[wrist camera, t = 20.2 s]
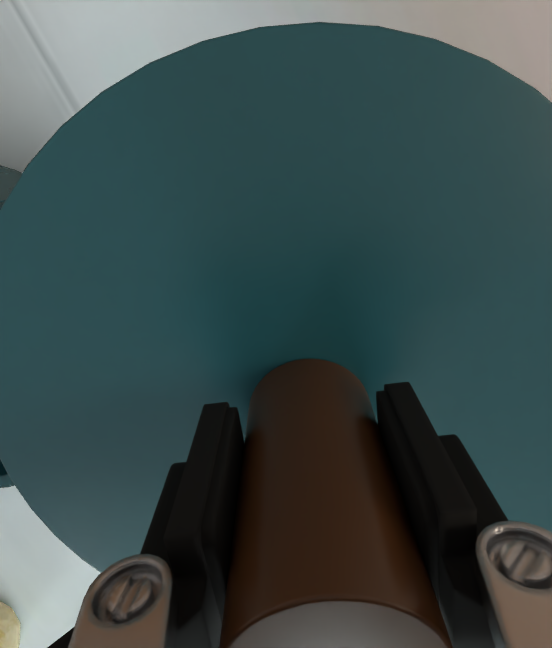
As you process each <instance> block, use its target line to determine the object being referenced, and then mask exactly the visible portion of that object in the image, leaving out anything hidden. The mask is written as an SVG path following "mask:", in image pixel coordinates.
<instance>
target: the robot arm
mask: <svg viewBox="0 0 552 648" xmlns="http://www.w3.org/2000/svg"><path fill="white" fill-rule="evenodd" d="M376 404H377V420H378V427H379V430H380V433H381V436H382V439H383V442H384V445H385V448H386V451H387V454H388V456H389V459H390V462H391V465H392V468H393V471H394V474H395V477H396V480H397V483H398V486H399V489H400V492H401V495H402V498H403V501H404V504H405V507H406V510H407V513H408V516H409V519H410V522H411V525H412V528H413V531H414V534H415V537H416V540H417V543H418V546H419V549H420V552H421V555H422V558H423V561H424V564H425V566H426V569H427V572H428V575H429V578H430V581H431V584H432V587H433V590H434V593H435V596H436V599H437V601H438V604H439V607H440V610H441V613H442V616H443V619H444V622H445V625H446V628H447V631H448V634H449V637H450V640H451V643H452V646H453V648H552V532H550V531H548V530H546V529H544V528H542V527H540V526H537V525H534V524H530V523H527V522H521V521H512V520H508V519H507V517H506V515H505V514H504V512H503V510H502V509H501V507H500V505H499V504H498V502H497V500H496V499H495V497H494V495H493V494H492V492H491V490H490V489H489V487H488V485H487V484H486V482H485V480H484V479H483V477H482V475H481V474H480V472H479V470H478V469H477V467H476V465H475V464H474V462H473V460H472V459H471V457H470V455H469V454H468V452H467V450H466V449H465V447H464V445H463V444H462V442H461V440H460V439H459V438H458V436H457V435H455V434H451V435H441V436H438V435H437V433H436V431H435V429H434V427H433V425H432V424H431V422H430V420H429V418H428V416H427V414H426V412H425V410H424V408H423V407H422V405H421V403H420V401H419V399H418V397H417V395H416V393H415V392H414V390H413V388H412V386H411V384H410V383H409V382H400V383H391V384H385V385H384V391H377V392H376ZM243 451H244V438H243V433H242V427H241V422H240V417H239V412H238V408H237V407H230V406H229V403H228V402H220V403H211V404H204V406H203V408H202V412H201V415H200V418H199V422H198V425H197V428H196V432H195V435H194V438H193V442H192V445H191V448H190V451H189V455H188V458H187V461H186V462H180V463H174V464H172V465H171V467H170V469H169V472H168V475H167V478H166V481H165V483H164V486H163V489H162V492H161V495H160V498H159V501H158V504H157V506H156V509H155V512H154V515H153V518H152V521H151V524H150V527H149V529H148V532H147V535H146V538H145V541H144V544H143V547H142V550H141V552H140V554H136V555H133V556H129V557H126V558H123V559H121V560H119V561H117V562H116V563H114V564H112V565H110V566H109V567H108V568H107V569H105V570H104V571H103V572H102V573H101V574H99V575H98V577H97V578H96V579H95V580H94V582H93V583H92V584H91V585H90V586H89V589H88V591H87V593H86V595H85V597H84V599H83V602H82V605H81V609H80V612H79V615H78V618H77V621H76V624H75V627H74V628H72V629H71V630H70V631H69V632H67V633H66V634H65V635H63V636H62V637H61V638H59V639H58V640H57V641H55V642H54V643H53V644H52V645H50V646H49V647H48V648H219V644H220V635H221V627H222V619H223V611H224V603H225V595H226V587H227V579H228V571H229V563H230V555H231V547H232V539H233V531H234V523H235V515H236V507H237V499H238V491H239V483H240V475H241V467H242V459H243Z"/></svg>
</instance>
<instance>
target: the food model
mask: <svg viewBox="0 0 552 648" xmlns="http://www.w3.org/2000/svg"><path fill="white" fill-rule="evenodd" d="M19 642H20V621H19V620H18V618H17V616H16V614H15V613H14V611H13V609H12V608H11V607H9V606H8V605H6V604H4V603H3V602H1V601H0V648H18V647H19Z"/></svg>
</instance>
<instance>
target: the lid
mask: <svg viewBox="0 0 552 648" xmlns="http://www.w3.org/2000/svg"><path fill="white" fill-rule="evenodd" d="M400 382H409V383H410V384H411V386H412V388H413V390H414V392H415V393H416V395H417V397H418V399H419V401H420V403H421V405H422V407H423V408H424V410H425V412H426V414H427V416H428V418H429V420H430V422H431V424H432V425H433V427H434V429H435V431H436V433H437V435H438V436H441V435H451V434H455V435H457V436H458V438H459V439H460V440H461V442H462V444H463V445H464V447H465V449H466V450H467V452H468V454H469V455H470V457H471V459H472V460H473V462H474V464H475V465H476V467H477V469H478V470H479V472H480V474H481V475H482V477H483V479H484V480H485V482H486V484H487V485H488V487H489V489H490V490H491V492H492V494H493V495H494V497H495V499H496V500H497V502H498V504H499V505H500V507H501V509H502V510H503V512H504V514H505V515H506V517H507V519H508V520H512V521H521V522H527V523H530V524H534V525H537V526H540V527H542V528H544V529H546V530H548V531H550V532H552V102H550V101H549V100H548V99H547V98H546V97H545V96H543V95H542V94H541V93H540V92H539V91H538V90H536V89H535V88H534V87H532V86H530V85H529V84H527V83H525V82H524V81H522V80H520V79H519V78H517V77H515V76H514V75H512V74H510V73H509V72H507V71H505V70H504V69H502V68H500V67H499V66H497V65H495V64H494V63H492V62H490V61H489V60H487V59H484V58H482V57H479V56H477V55H474V54H472V53H469V52H467V51H464V50H462V49H459V48H457V47H454V46H452V45H449V44H447V43H444V42H442V41H439V40H437V39H433V38H429V37H424V36H420V35H416V34H411V33H407V32H402V31H398V30H394V29H389V28H385V27H380V26H371V25H356V24H341V23H327V22H313V23H301V24H290V25H278V26H266V27H258V28H254V29H250V30H246V31H242V32H237V33H233V34H229V35H225V36H221V37H217V38H213V39H209V40H205V41H201V42H199V43H197V44H194V45H192V46H189V47H187V48H184V49H182V50H180V51H177V52H175V53H172V54H170V55H167V56H165V57H163V58H160V59H158V60H155V61H153V62H150V63H149V64H147V65H145V66H144V67H142V68H140V69H139V70H137V71H135V72H134V73H132V74H130V75H129V76H127V77H125V78H124V79H122V80H120V81H119V82H117V83H116V84H114V85H112V86H111V87H109V88H107V89H106V90H104V91H102V92H101V93H100V94H99V95H98V96H96V97H95V98H94V99H93V100H92V101H90V102H89V103H88V104H87V105H86V106H84V107H83V108H82V109H81V110H80V111H79V112H77V113H76V114H75V115H74V116H73V117H71V118H70V119H69V120H68V121H67V122H65V123H64V124H63V125H62V126H61V127H60V128H59V129H58V130H57V132H56V133H55V134H54V135H53V136H52V137H51V138H50V140H49V141H48V142H47V143H46V144H45V145H44V147H43V148H42V149H41V150H40V151H39V152H38V153H37V155H36V156H35V157H34V158H33V159H32V160H31V161H30V163H29V164H28V165H27V167H26V168H25V170H24V172H23V173H22V175H21V176H20V178H19V180H18V181H17V183H16V184H15V186H14V188H13V189H12V191H11V192H10V194H9V196H8V197H7V199H6V200H5V202H4V204H3V205H2V208H1V210H0V460H1V462H2V464H3V466H4V467H5V469H6V471H7V473H8V475H9V477H10V479H11V480H12V482H13V483H14V485H15V486H16V488H17V489H18V490H19V492H20V493H21V495H22V496H23V498H24V499H25V500H26V502H27V503H28V505H29V506H30V508H31V509H32V510H33V511H34V512H35V514H36V515H37V516H38V517H39V518H40V519H41V520H42V521H43V522H44V524H45V525H46V526H47V527H48V528H49V529H50V530H51V531H52V533H53V534H54V535H55V536H56V537H57V538H59V539H60V540H61V541H62V542H63V543H64V544H65V545H66V546H67V547H69V548H70V549H71V550H72V551H73V552H74V553H75V554H76V555H78V556H79V557H80V558H81V559H82V560H84V561H85V562H86V563H88V564H89V565H91V566H92V567H93V568H95V569H96V570H98V571H99V572H100V573H102V572H103V571H104V570H105V569H107V568H108V567H109V566H110V565H112V564H114V563H116V562H117V561H119V560H121V559H123V558H126V557H129V556H133V555H136V554H140V552H141V550H142V547H143V544H144V541H145V538H146V535H147V532H148V529H149V527H150V524H151V521H152V518H153V515H154V512H155V509H156V506H157V504H158V501H159V498H160V495H161V492H162V489H163V486H164V483H165V481H166V478H167V475H168V472H169V469H170V467H171V465H172V464H174V463H180V462H186V461H187V458H188V455H189V451H190V448H191V445H192V442H193V438H194V435H195V432H196V428H197V425H198V422H199V418H200V415H201V412H202V408H203V406H204V404H211V403H220V402H228V403H229V406H230V407H237V408H238V412H239V417H240V422H241V427H242V433H243V438H244V451H243V459H242V467H241V475H240V483H239V491H238V499H237V507H236V515H235V523H234V531H233V539H232V547H231V555H230V563H229V571H228V579H227V587H226V595H225V603H224V611H223V619H222V627H221V635H220V644H219V648H453V646H452V643H451V640H450V637H449V634H448V631H447V628H446V625H445V622H444V619H443V616H442V613H441V610H440V607H439V604H438V601H437V599H436V596H435V593H434V590H433V587H432V584H431V581H430V578H429V575H428V572H427V569H426V566H425V564H424V561H423V558H422V555H421V552H420V549H419V546H418V543H417V540H416V537H415V534H414V531H413V528H412V525H411V522H410V519H409V516H408V513H407V510H406V507H405V504H404V501H403V498H402V495H401V492H400V489H399V486H398V483H397V480H396V477H395V474H394V471H393V468H392V465H391V462H390V459H389V456H388V454H387V451H386V448H385V445H384V442H383V439H382V436H381V433H380V430H379V427H378V420H377V404H376V392H377V391H384V385H385V384H391V383H400Z"/></svg>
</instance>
